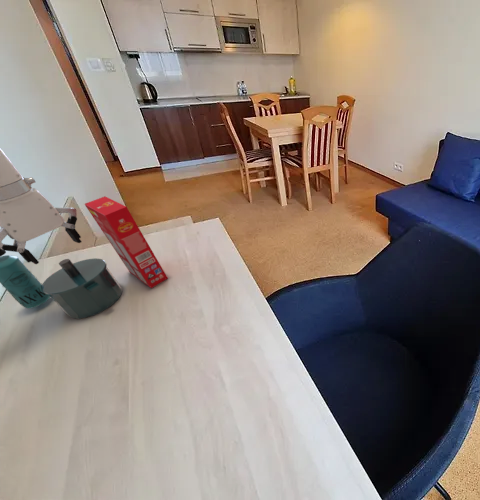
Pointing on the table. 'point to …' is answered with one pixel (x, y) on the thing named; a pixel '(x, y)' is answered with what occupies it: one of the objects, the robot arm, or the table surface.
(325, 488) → the table surface
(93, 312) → the pot
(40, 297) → the beverage bottle
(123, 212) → the food packaging
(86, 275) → the lid
